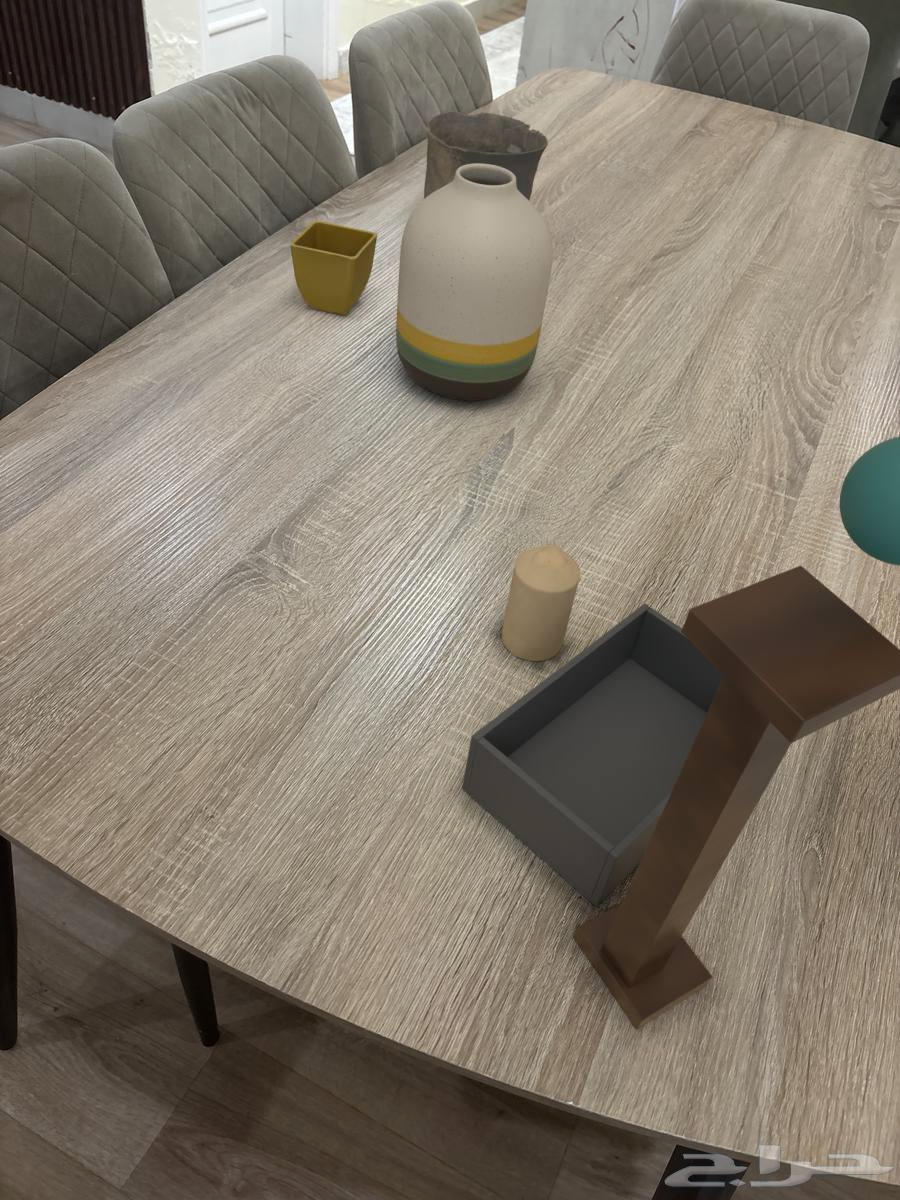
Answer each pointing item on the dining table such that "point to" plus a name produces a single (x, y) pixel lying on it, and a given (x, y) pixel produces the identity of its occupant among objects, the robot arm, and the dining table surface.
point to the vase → (472, 285)
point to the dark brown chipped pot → (481, 148)
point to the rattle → (874, 502)
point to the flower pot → (332, 265)
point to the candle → (540, 602)
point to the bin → (596, 750)
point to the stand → (734, 767)
